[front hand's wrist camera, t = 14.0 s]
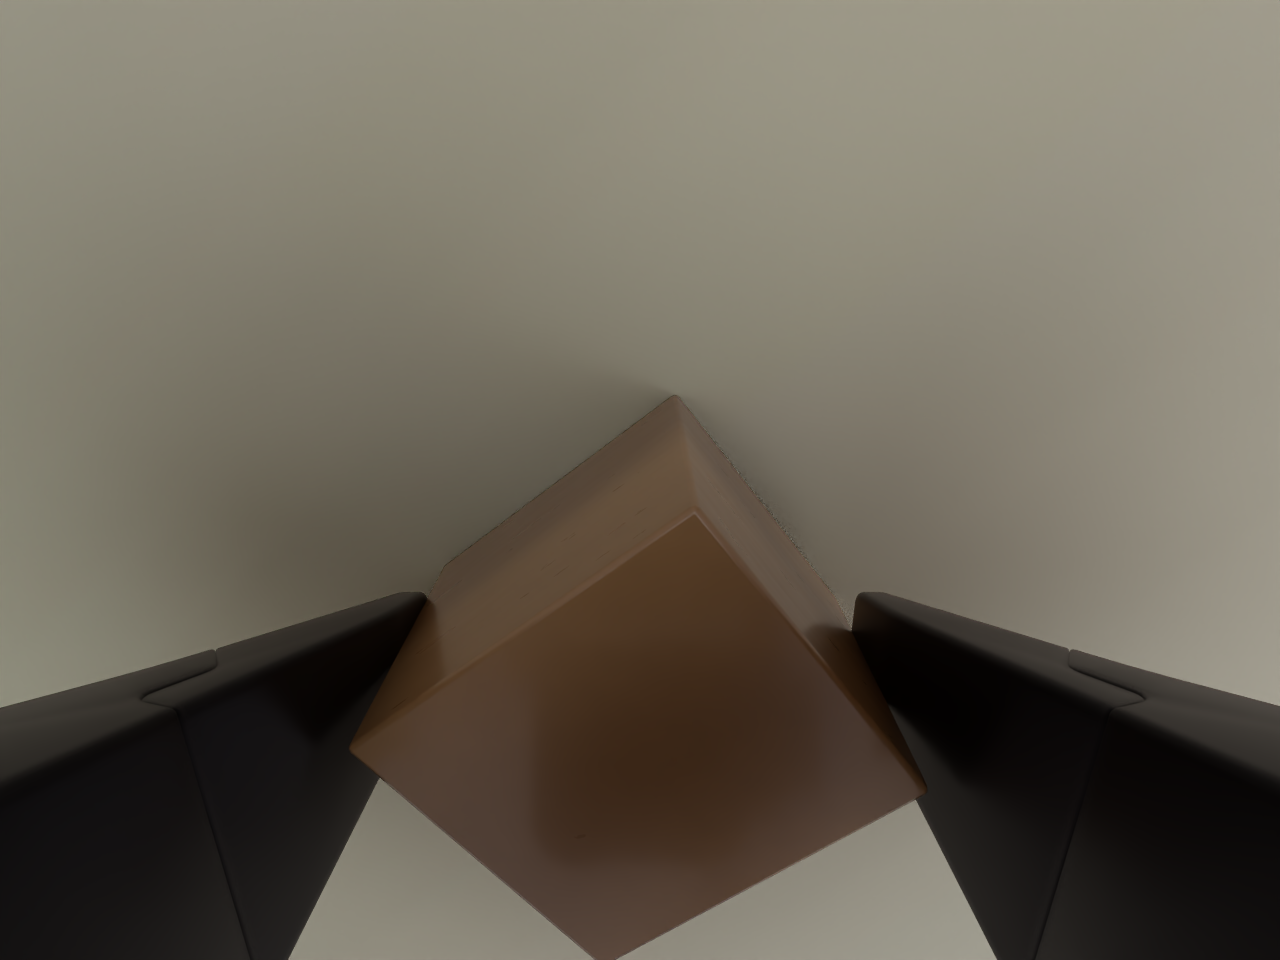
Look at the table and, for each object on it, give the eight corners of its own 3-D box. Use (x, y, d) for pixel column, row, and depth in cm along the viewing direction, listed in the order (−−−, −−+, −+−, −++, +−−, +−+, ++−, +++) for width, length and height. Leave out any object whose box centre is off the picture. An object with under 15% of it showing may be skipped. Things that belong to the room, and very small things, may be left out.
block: (442, 566, 12) (343, 751, 8) (675, 391, 11) (697, 505, 7) (614, 738, 14) (602, 970, 10) (836, 599, 13) (933, 794, 8)
